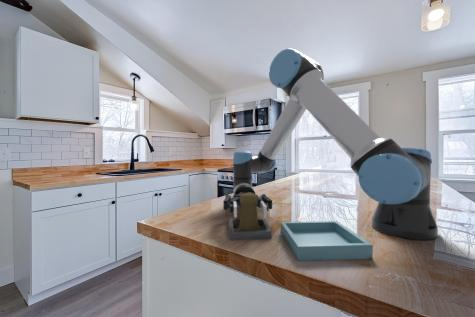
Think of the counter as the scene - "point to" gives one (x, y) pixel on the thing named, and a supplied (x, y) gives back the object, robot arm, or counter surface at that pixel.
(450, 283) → the counter surface
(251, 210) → the olive tall rounded piece
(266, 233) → the grey square holder
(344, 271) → the counter surface
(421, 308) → the counter surface
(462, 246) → the counter surface
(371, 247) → the tray
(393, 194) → the robot arm
